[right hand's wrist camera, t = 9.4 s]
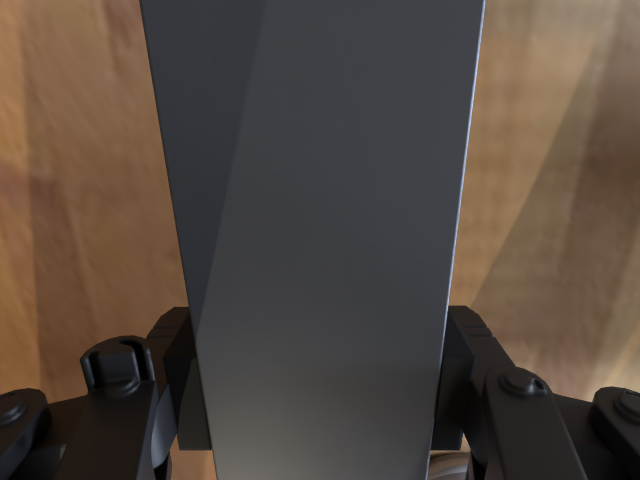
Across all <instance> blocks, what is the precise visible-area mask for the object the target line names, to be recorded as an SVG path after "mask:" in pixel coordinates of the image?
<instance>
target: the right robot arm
mask: <svg viewBox="0 0 640 480" xmlns="http://www.w3.org/2000/svg"><path fill="white" fill-rule="evenodd" d="M80 363H81V367H82V370H83V374H84V377H85V381H86V384H87V388H88V394H87V395H84V396H81V397H78V398H73V399H69V400H64V401H60V402H55V403H51V404H48V402H47V399H46V396H45V394H44V393H42V392H41V391H40V390H38V389H31V388H26V389H19V390H14V391H11V392H8V393H4V394H2V395H0V480H171V471H172V462H171V456H170V451H169V450H170V448H171V445H172V443H173V441H174V438H175V436H176V433H177V439H178V444H179V450H211V449H212V445H211V439H210V433H209V427H208V421H207V415H206V408H205V402H204V396H203V390H202V384H201V378H200V372H199V365H198V359H197V353H196V347H195V341H194V335H193V328H192V322H191V316H190V310H189V307H174V308H172V309H171V310H169V311H168V312H166V313H165V314H163V315H162V316H161V317H160V318H159V320H158V321H157V323H156V324H155V325H154V327H153V329H152V330H151V331H150V332H149V334H148V335H147V338H145V339H144V338H142V337H138V336H134V335H133V336H119V337H115V338H111V339H108V340H105V341H103V342H101V343H98V344H96V345H95V346H93V347H92V348H90V349H89V350H88V351H86V352H85V353H84V355H83V356H82V357H81V358H80ZM463 432H464V435H465V437H466V439H467V442H468V444H469V446H470V449H471V451H470V453H457V454H449V455H443V456H439V457H435V458H432V459H429V465H428V474H427V480H640V393H638V392H635V391H632V390H629V389H626V388H619V387H612V386H611V387H604V388H601V389H599V390H598V391H597V392H596V393H595V395H594V398H593V401H592V402H588V401H583V400H579V399H574V398H570V397H565V396H561V395H558V394H554V393H552V391H551V389H550V388H549V386H548V385H547V384H546V382H545V381H543V380H542V379H541V378H540V377H538V376H537V375H536V374H534V373H532V372H530V371H528V370H526V369H523V368H519V367H516V366H515V365H514V363H513V362H512V361H511V359H510V358H509V356H508V355H507V354H506V352H505V351H504V349H503V348H502V347H501V345H500V344H499V342H498V341H497V340H496V338H495V337H493V334H492V333H491V331H490V330H489V328H487V327H486V324H485V323H484V321H483V320H482V319H481V317H480V316H479V315H478V314H477V313H475V312H474V311H472V310H471V309H469V308H468V307H467V306H448V311H447V319H446V327H445V335H444V343H443V352H442V360H441V368H440V376H439V384H438V392H437V400H436V409H435V417H434V425H433V433H432V441H431V449H430V450H460V448H461V443H462V437H463Z"/></svg>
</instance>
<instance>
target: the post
mask: <svg viewBox="0 0 640 480" xmlns="http://www.w3.org/2000/svg"><path fill="white" fill-rule="evenodd" d="M139 2H140V8H141V14H142V20H143V27H144V33H145V39H146V45H147V51H148V57H149V63H150V70H151V76H152V82H153V88H154V94H155V100H156V107H157V113H158V119H159V125H160V131H161V137H162V144H163V150H164V156H165V162H166V168H167V174H168V181H169V187H170V193H171V199H172V205H173V211H174V217H175V224H176V230H177V236H178V242H179V248H180V254H181V261H182V267H183V273H184V279H185V285H186V291H187V298H188V304H189V310H190V316H191V322H192V328H193V335H194V341H195V347H196V353H197V359H198V365H199V372H200V378H201V384H202V390H203V396H204V402H205V408H206V415H207V421H208V427H209V433H210V439H211V445H212V452H213V458H214V464H215V470H216V476H217V480H427V474H428V465H429V457H430V449H431V441H432V433H433V425H434V417H435V409H436V400H437V392H438V384H439V376H440V368H441V360H442V352H443V343H444V335H445V327H446V319H447V311H448V303H449V295H450V287H451V278H452V270H453V262H454V254H455V246H456V238H457V230H458V221H459V213H460V205H461V197H462V189H463V181H464V173H465V165H466V156H467V148H468V140H469V132H470V124H471V116H472V108H473V99H474V91H475V83H476V75H477V67H478V59H479V51H480V43H481V34H482V26H483V18H484V10H485V2H486V0H139Z"/></svg>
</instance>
